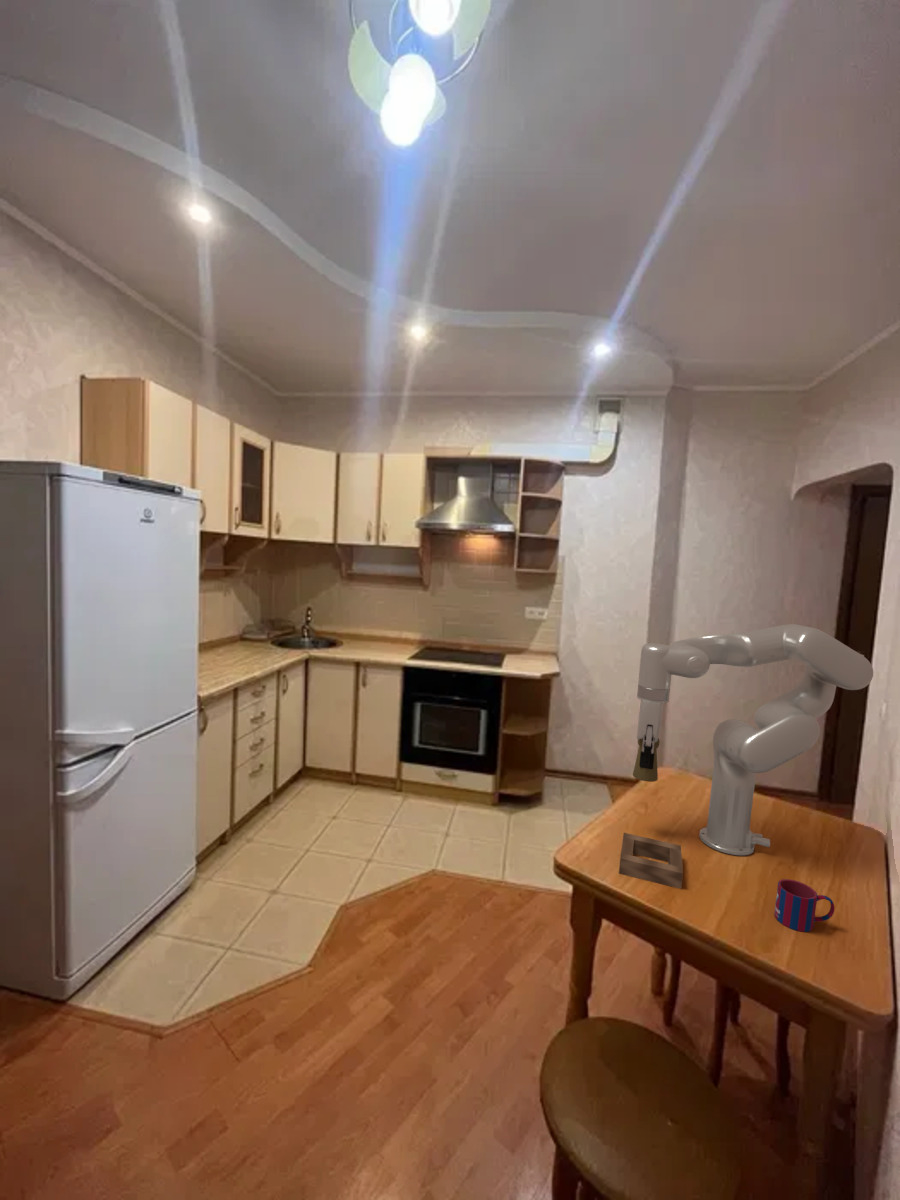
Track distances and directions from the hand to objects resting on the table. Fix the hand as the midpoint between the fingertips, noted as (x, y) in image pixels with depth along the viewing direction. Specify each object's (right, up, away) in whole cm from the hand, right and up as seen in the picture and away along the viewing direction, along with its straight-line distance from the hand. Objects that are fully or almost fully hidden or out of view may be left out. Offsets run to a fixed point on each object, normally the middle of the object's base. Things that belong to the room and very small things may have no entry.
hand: (646, 764), depth 142 cm
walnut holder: (-3, -20, -12) cm, 24 cm away
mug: (+21, -23, -29) cm, 43 cm away
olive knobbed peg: (0, -4, 0) cm, 3 cm away
